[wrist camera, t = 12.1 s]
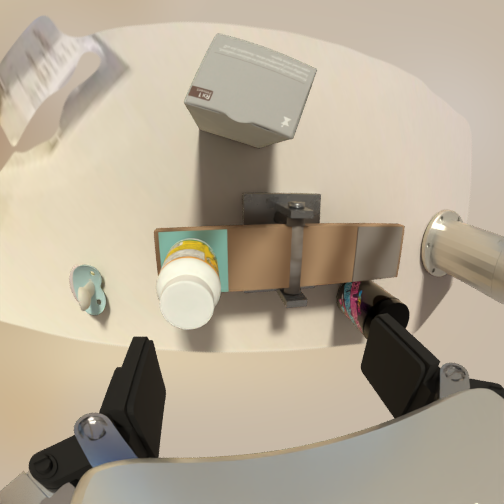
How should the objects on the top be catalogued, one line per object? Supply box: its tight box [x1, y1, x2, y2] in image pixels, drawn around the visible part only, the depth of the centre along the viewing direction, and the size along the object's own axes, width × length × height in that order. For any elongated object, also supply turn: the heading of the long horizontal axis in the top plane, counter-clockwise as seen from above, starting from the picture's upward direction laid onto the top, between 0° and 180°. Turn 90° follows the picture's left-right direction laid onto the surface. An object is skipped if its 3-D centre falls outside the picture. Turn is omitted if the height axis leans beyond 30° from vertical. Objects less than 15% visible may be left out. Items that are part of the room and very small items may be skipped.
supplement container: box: [337, 280, 409, 339], centre depth 36 cm, size 7×7×10 cm
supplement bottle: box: [156, 238, 221, 330], centre depth 23 cm, size 5×5×10 cm
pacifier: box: [69, 265, 106, 315], centre depth 31 cm, size 7×6×6 cm
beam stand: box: [243, 193, 321, 308], centre depth 33 cm, size 10×13×8 cm
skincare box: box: [184, 33, 317, 148], centre depth 23 cm, size 8×7×16 cm
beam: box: [154, 217, 405, 294], centre depth 31 cm, size 30×9×2 cm, turn 90°
